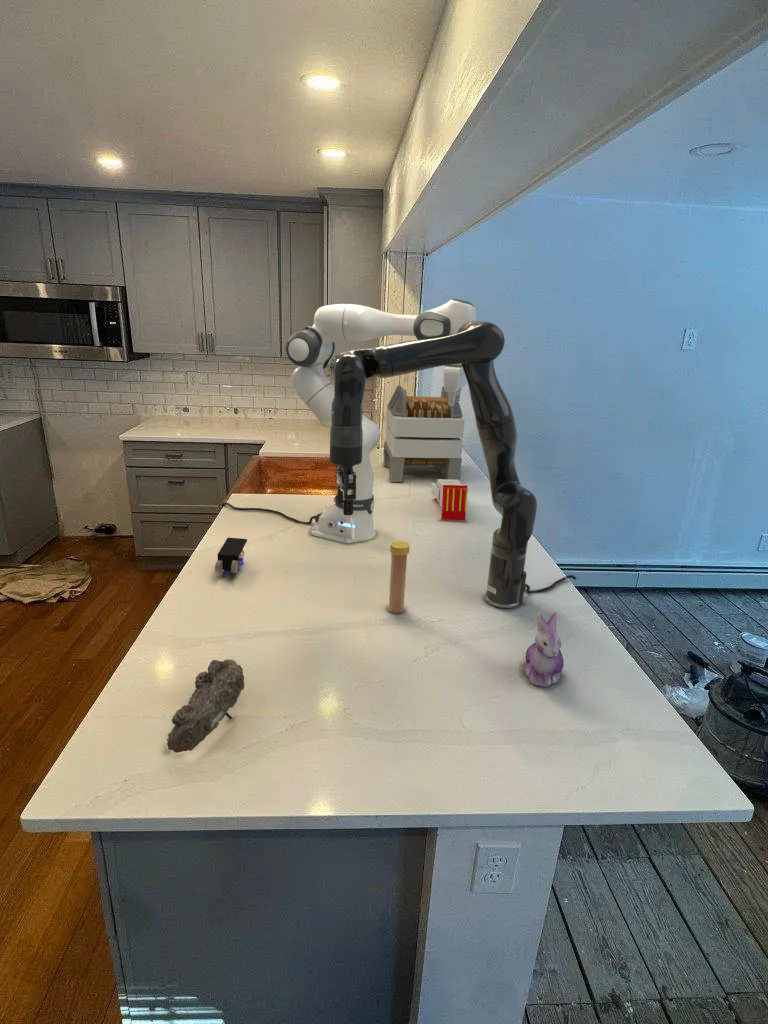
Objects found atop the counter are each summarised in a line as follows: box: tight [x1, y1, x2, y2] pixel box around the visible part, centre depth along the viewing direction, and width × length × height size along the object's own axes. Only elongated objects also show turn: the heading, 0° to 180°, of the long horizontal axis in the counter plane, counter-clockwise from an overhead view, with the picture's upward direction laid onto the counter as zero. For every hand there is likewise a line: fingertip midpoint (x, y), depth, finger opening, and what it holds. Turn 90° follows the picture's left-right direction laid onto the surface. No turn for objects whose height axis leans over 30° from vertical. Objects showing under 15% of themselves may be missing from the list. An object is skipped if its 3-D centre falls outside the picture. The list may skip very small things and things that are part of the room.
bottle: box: [388, 552, 408, 614], centre depth 147 cm, size 4×4×18 cm
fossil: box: [166, 658, 245, 754], centre depth 106 cm, size 22×10×15 cm
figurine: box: [524, 611, 565, 688], centre depth 122 cm, size 9×10×15 cm
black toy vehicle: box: [214, 537, 248, 578], centre depth 166 cm, size 7×8×15 cm
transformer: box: [383, 384, 465, 483], centre depth 268 cm, size 34×33×41 cm
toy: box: [431, 478, 469, 522], centre depth 226 cm, size 12×13×30 cm
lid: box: [389, 540, 410, 556], centre depth 144 cm, size 5×5×2 cm
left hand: (454, 403), depth 174 cm, fingers open, 8 cm apart
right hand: (345, 508), depth 136 cm, fingers open, 8 cm apart
